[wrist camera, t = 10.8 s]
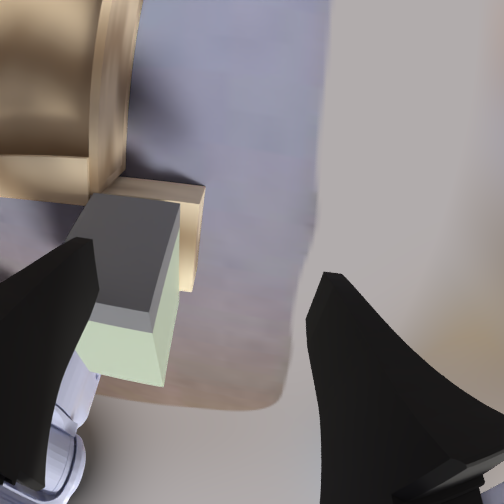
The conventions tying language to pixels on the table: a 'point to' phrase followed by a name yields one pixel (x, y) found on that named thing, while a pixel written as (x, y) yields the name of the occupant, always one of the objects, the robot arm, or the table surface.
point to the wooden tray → (64, 96)
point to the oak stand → (189, 216)
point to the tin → (131, 286)
